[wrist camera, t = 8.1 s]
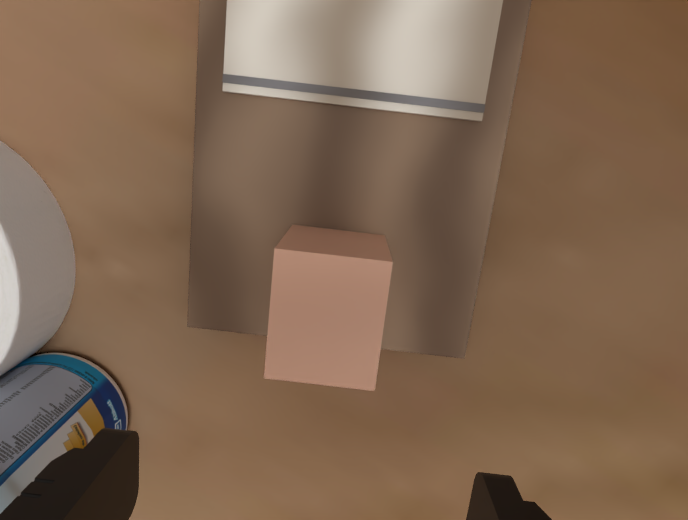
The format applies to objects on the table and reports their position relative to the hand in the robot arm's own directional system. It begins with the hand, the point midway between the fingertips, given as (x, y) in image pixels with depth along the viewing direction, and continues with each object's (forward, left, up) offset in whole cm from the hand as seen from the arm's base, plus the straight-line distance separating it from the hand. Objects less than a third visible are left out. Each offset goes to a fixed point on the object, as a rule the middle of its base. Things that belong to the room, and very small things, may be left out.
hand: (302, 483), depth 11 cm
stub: (0, 0, -16) cm, 16 cm away
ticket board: (0, -9, -18) cm, 19 cm away
